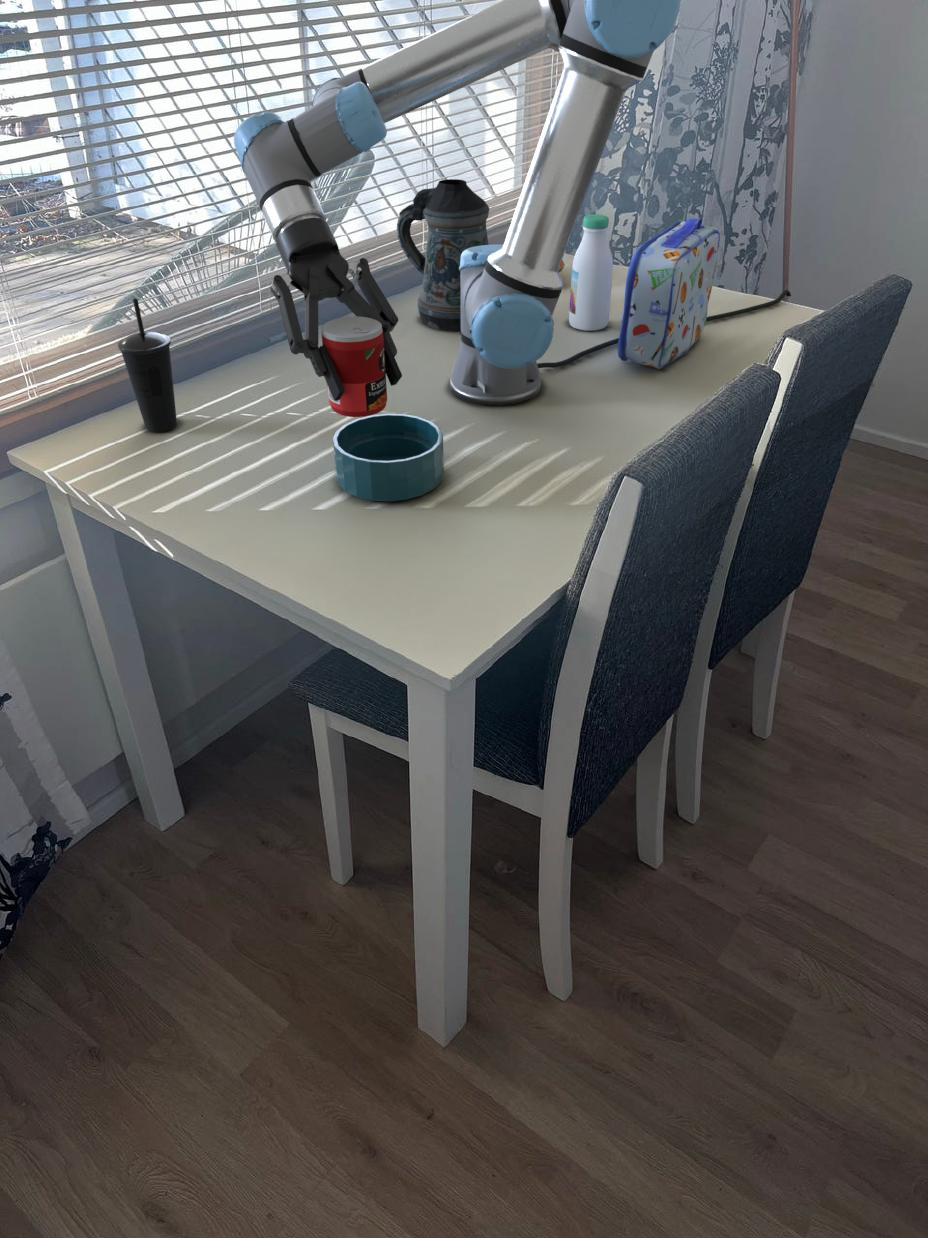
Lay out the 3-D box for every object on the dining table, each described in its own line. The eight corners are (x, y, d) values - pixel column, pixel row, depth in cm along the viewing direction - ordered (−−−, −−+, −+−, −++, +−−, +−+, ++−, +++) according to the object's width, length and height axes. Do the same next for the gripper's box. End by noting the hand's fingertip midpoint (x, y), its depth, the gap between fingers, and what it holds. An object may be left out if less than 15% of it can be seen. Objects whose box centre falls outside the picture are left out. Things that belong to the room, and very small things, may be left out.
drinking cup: (195, 419, 154) (172, 293, 142) (168, 439, 148) (142, 310, 136) (154, 412, 156) (128, 288, 144) (126, 432, 150) (96, 304, 138)
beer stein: (508, 329, 185) (511, 190, 170) (408, 335, 183) (402, 195, 168) (492, 300, 198) (493, 170, 183) (398, 306, 196) (392, 174, 181)
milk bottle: (614, 322, 188) (624, 214, 176) (597, 334, 183) (606, 224, 171) (579, 315, 191) (586, 208, 179) (561, 326, 186) (567, 218, 174)
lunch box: (660, 322, 188) (674, 202, 175) (712, 331, 184) (730, 209, 171) (608, 371, 169) (620, 241, 155) (665, 382, 165) (682, 249, 151)
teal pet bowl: (432, 449, 145) (430, 409, 141) (453, 497, 133) (452, 455, 129) (331, 459, 143) (327, 419, 139) (344, 510, 131) (340, 467, 127)
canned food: (379, 420, 127) (373, 338, 120) (321, 415, 128) (312, 335, 121) (394, 396, 133) (389, 317, 126) (338, 392, 134) (331, 314, 127)
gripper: (362, 235, 135) (426, 382, 133) (223, 261, 126) (290, 419, 125) (377, 202, 128) (445, 357, 127) (231, 228, 119) (303, 394, 118)
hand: (368, 387), depth 126 cm, fingers closed on canned food, 8 cm apart
